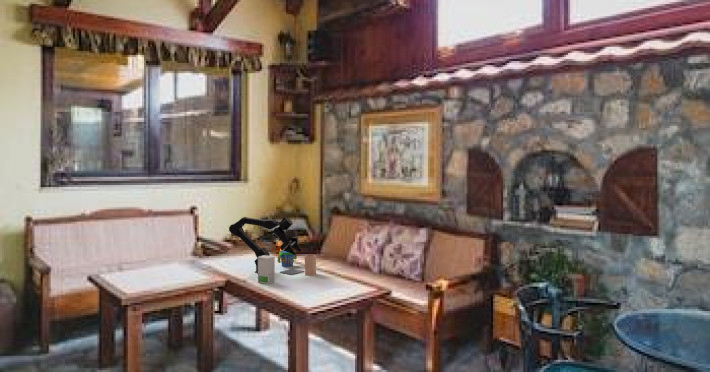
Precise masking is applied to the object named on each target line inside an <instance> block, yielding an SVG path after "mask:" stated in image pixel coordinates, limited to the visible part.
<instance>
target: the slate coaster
mask: <svg viewBox="0 0 710 372" xmlns="http://www.w3.org/2000/svg"><path fill="white" fill-rule="evenodd" d="M301 273H305V270H302V269H297V268H289V269H285V270H282V271H279V274H284V275H290V276H294V275H297V274H301Z"/></svg>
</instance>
